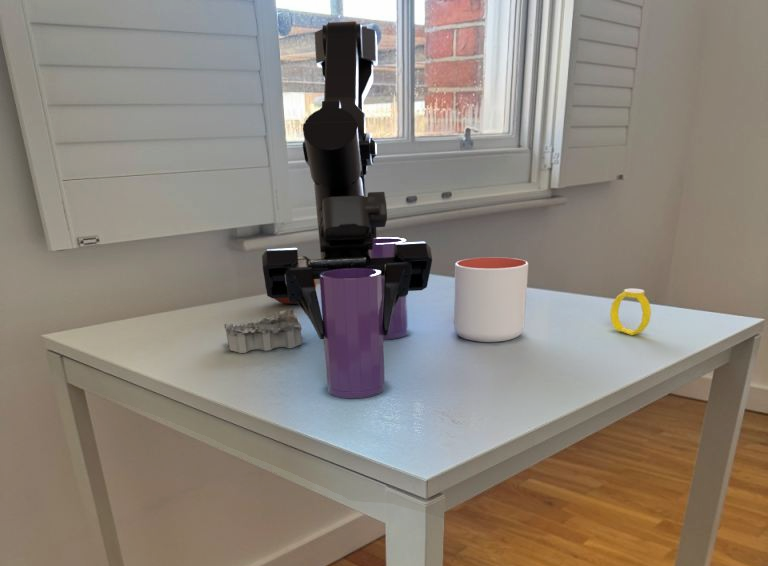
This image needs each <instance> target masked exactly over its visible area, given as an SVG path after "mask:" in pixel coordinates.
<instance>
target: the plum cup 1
mask: <svg viewBox="0 0 768 566" xmlns="http://www.w3.org/2000/svg"><path fill="white" fill-rule="evenodd" d="M319 288H320V290H319V291H320V300H321V301H320V302H321V304H320V305H321V315H322V320H323V328H324V339H323V343H324V344H323V346H324V358H325V372H326V373H325V374H326V385H327V392H328V393H329V394H330V395H331V396H334V397H337V398H341V399H364V398H371V397H374V396H377V395H379V394H382V393H383V392H384V391H385V388H386V385H385V384H386V383H385V381H386V380H385V351H384V340H383V315H382V282H381V271H379V270H377V269H370V268H342V269H333V270H328V271H324V272H322V273H320V279H319Z"/></svg>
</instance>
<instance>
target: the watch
mask: <svg viewBox="0 0 768 566" xmlns="http://www.w3.org/2000/svg"><path fill="white" fill-rule="evenodd" d="M645 293H646V292H645V290H644V289H641V288H635V287H634V288H633V287H632V288H625V289H623V292H622V293H620V294H618V295H617V296H616V297H615V299H614V300H613V301H612V304H611V308H610V312H609V314H610V321H611V324H612V326H613V328H614V330H615V331H618V332H620V333H624V334H627V335H630V336H636V335H638V334H640V333H642V332H643V331H645V330H646V328H647V327H648V325H649V324H650V321H651V314H652V309H651V305H650V302H649V299H648V298H647V297H646V296H645ZM626 297H627V298H633V299H636V300H637V301H638V303H640V306H641V311H642V316H641V322H640V323H639V326H638V327H637V329H635V330H633V329H631V328H628V327H625V326H624V325H623V324H622V322H621V321H620V315H619V310H620V305H621V302H623V300H624V299H625V298H626Z"/></svg>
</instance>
